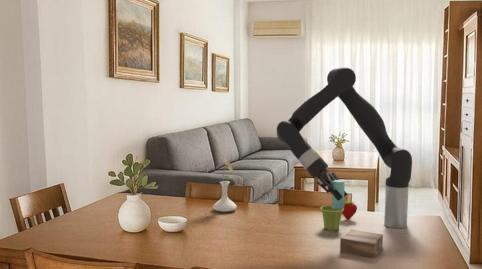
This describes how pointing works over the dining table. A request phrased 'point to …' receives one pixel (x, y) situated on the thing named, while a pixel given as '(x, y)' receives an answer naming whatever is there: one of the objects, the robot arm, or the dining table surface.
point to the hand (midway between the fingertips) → (343, 197)
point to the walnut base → (361, 243)
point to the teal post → (340, 188)
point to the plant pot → (331, 217)
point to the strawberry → (349, 209)
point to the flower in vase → (225, 194)
